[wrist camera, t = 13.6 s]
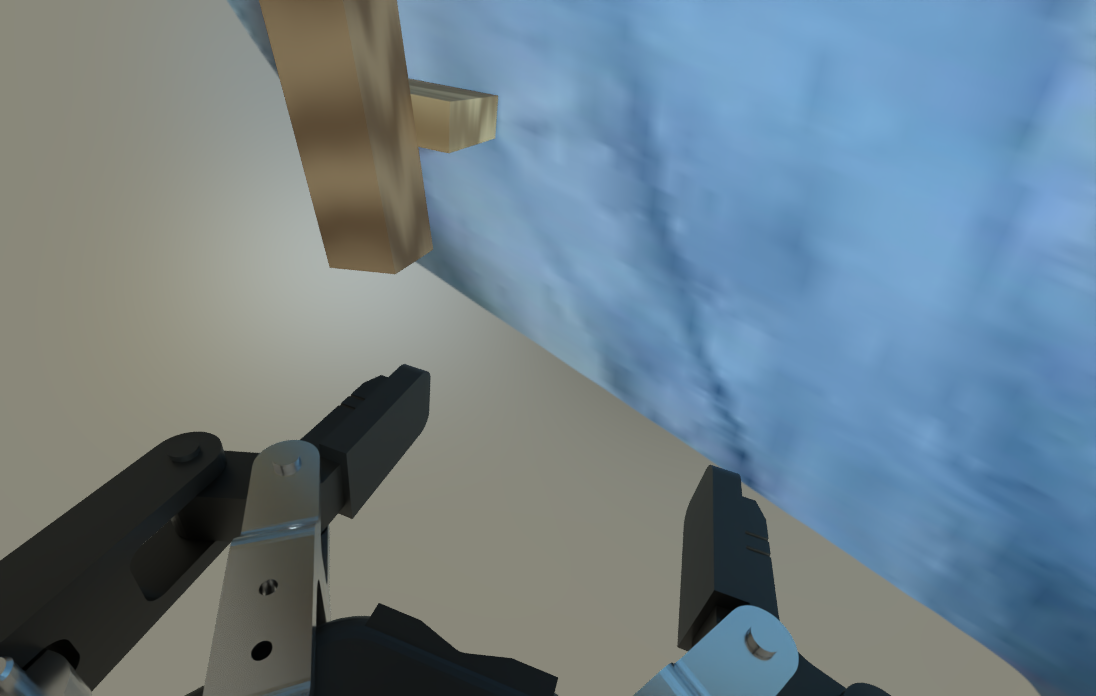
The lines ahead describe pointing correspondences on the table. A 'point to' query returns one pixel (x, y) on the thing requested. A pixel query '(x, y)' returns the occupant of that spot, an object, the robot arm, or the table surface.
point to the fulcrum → (451, 116)
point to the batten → (353, 127)
